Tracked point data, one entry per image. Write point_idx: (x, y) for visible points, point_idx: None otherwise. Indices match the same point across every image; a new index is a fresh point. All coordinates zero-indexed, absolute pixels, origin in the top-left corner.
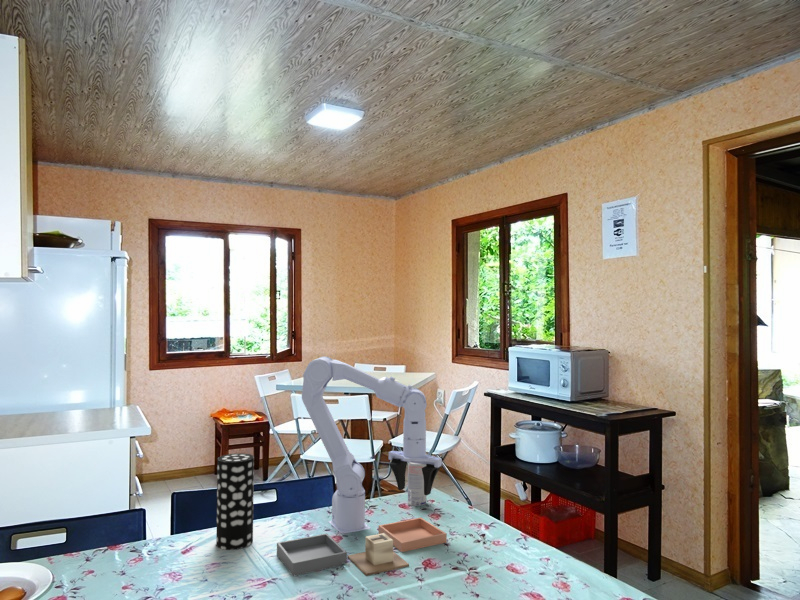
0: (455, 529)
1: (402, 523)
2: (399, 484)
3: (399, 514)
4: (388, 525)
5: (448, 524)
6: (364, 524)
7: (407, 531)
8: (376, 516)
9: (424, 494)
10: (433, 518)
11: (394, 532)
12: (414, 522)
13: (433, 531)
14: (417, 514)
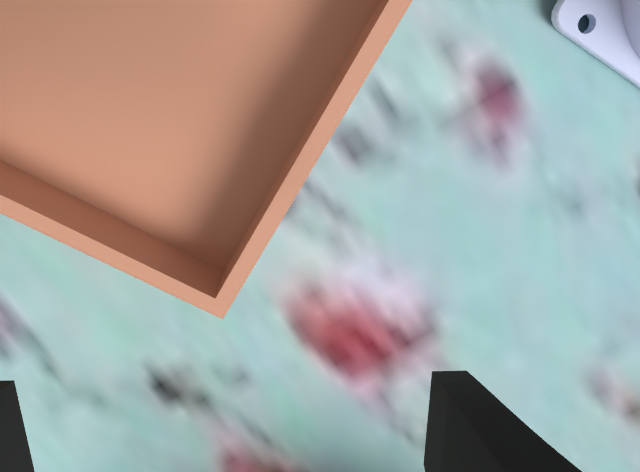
0: (18, 380)
1: (301, 144)
2: (463, 411)
3: None
4: (379, 13)
5: (111, 425)
6: (633, 20)
7: (248, 128)
8: (631, 293)
9: (5, 382)
10: (255, 458)
11: (328, 48)
12: (243, 241)
13: (20, 183)
14: (384, 461)
